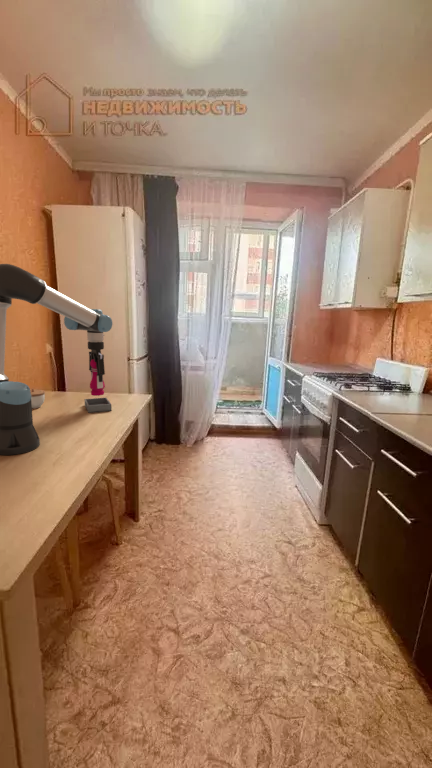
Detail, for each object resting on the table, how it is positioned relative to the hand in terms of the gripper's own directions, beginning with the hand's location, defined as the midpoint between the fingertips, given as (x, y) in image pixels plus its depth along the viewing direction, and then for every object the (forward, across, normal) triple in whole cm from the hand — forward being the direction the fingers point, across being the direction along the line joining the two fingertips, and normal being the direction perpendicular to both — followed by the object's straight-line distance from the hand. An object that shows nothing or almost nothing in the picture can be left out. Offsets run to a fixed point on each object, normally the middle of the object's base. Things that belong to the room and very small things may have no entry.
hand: (97, 386), depth 174 cm
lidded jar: (+12, +19, +26) cm, 34 cm away
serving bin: (+11, 0, 0) cm, 11 cm away
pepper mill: (+4, 0, 0) cm, 4 cm away
